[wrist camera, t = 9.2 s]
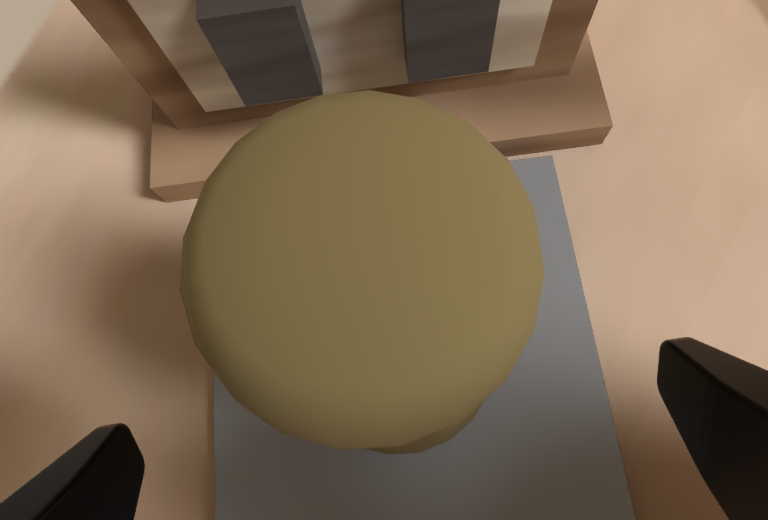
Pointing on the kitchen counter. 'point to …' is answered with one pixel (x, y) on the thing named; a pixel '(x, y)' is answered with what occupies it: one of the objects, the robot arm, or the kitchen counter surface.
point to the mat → (469, 446)
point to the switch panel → (352, 68)
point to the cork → (363, 272)
